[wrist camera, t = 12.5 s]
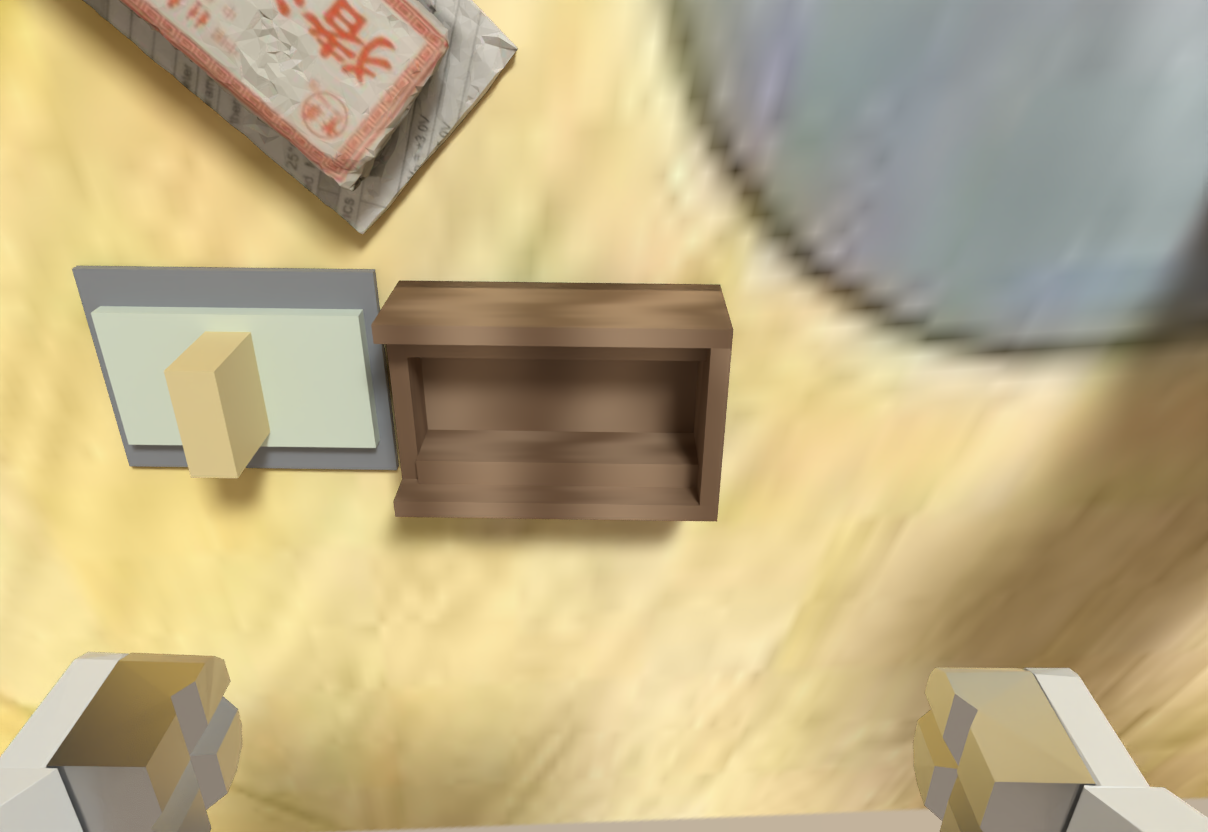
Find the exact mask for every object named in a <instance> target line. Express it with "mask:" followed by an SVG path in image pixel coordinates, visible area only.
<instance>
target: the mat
mask: <svg viewBox="0 0 1208 832" xmlns="http://www.w3.org/2000/svg"><path fill="white" fill-rule="evenodd" d="M72 270H73V274H74V277H75V280H76V284H77V287H78V291H79V294H80V298H81V301H82V304H83V308H84V311H85V315H86V318H87V322H88V325H89V328H90V332H91V335H92V339H93V342H94V346H95V349H96V352H97V356H98V359H99V363H100V366H101V370H102V373H103V376H104V380H105V383H106V387H107V390H108V394H109V397H110V400H111V404H112V407H113V411H114V414H115V418H116V421H117V424H118V428H119V431H120V435H121V438H122V442H123V445H124V448H125V452H126V455H127V459H128V462H129V466H153V467H188V464H187V461H186V457H185V453H184V449H183V445H129V444H128V440H127V437H126V434H125V430H124V427H123V423H122V420H121V416H120V413H119V409H118V406H117V402H116V399H115V395H114V392H113V389H112V385H111V382H110V378H109V375H108V371H107V368H106V364H105V361H104V357H103V354H102V350H101V347H100V343H99V340H98V337H97V333H96V330H95V326H94V323H93V319H92V316H91V312H93V311H94V310H95V309H97V308H98V307H100V306H132V307H211V308H291V309H363V314H364V322H365V329H366V337H367V345H368V352H369V360H370V367H371V375H372V383H373V390H374V398H375V406H376V413H377V421H378V429H379V436H380V440H379V442H378V445H377V447H376V448H340V447H267V446H260V447H259V449H258V450H257V452H256V453H255V455H254V456H253V457H252V459H251V460H250V462H249V463H248V465H247V466H246V467H245V468H294V469H364V470H397V469H398V466H399V464H398V456H397V447H396V439H395V431H394V422H393V414H392V406H391V398H390V389H389V381H388V373H387V364H386V356H385V348H384V344H374V343H373V336H372V328H371V324H372V323H373V321H374V320H375V318H376V317H377V315H378V313H379V312H380V306H379V298H378V290H377V282H376V273H375V269H297V268H217V267H137V266H76V267H74V268H73V269H72Z"/></svg>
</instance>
